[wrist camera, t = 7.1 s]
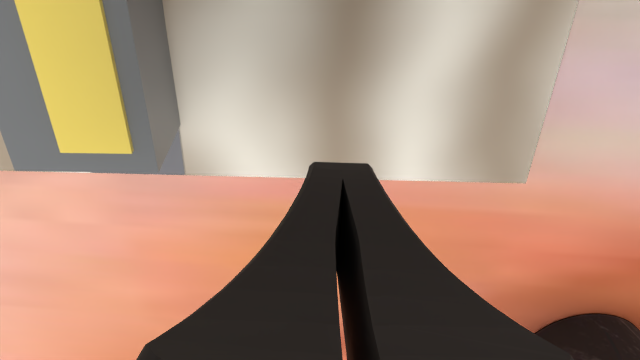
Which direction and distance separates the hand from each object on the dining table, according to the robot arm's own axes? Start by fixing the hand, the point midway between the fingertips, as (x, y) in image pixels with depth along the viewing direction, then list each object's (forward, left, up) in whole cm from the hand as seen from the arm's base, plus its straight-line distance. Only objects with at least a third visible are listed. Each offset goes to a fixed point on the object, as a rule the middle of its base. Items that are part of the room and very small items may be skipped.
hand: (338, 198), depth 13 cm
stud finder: (+3, +8, -9) cm, 13 cm away
